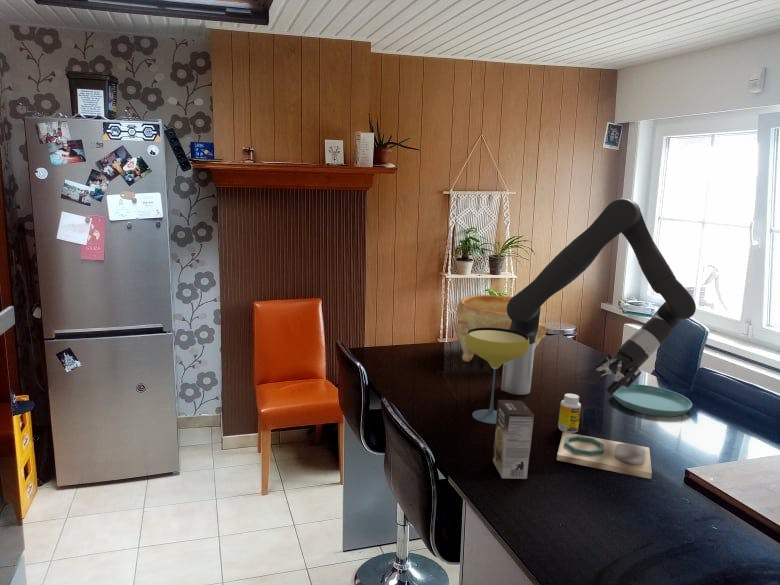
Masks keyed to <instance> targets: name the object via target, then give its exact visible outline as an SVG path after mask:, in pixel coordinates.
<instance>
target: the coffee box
mask: <svg viewBox="0 0 780 585" xmlns="http://www.w3.org/2000/svg"><path fill="white" fill-rule="evenodd" d="M496 411H497V418H496V424H495V430H494V431H495V432H494V440H493V442H494V443H493V455H492V456H493V457H492V462H493V465H494V466H495V468H496V470H497V472H498V474H499V475H500V477H501V479H514V480H515V479H518V480H519V479H521V480H526V479H528V471H529V463H530V453H531V448H532V447H531V445H532V435H533V429H534V428H533V426H534V418H535V417H534V416H535V414H534V413H533V412H532V411H531V410H530V408H529V407H528V406H527V405H526V403H525V402H524V400H513V399H498V400H497V409H496Z"/></svg>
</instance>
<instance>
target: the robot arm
mask: <svg viewBox="0 0 780 585" xmlns="http://www.w3.org/2000/svg"><path fill="white" fill-rule="evenodd" d="M620 234H622V235H623V237H624V238H625V239H626V240H627V242H628V243H629V245H630V248H632V250H633V253H634V255H635V257H636V260H637V263H638V266H639V267H640V269H641V270H640V271H642V273H643V275H644V277H645V278H646V281H647V282H648V284H649V286H650V287H651V289H652V291H653V292H655V293H656V294H659V295H661V297H662V298H663V299H664V303H662V304H661V306H660V307H659V308H658V309H657V310H656V311H655V313H654V314H653V315H652V317H651V318H650V319H648V320H647V322H645V323H644V324H643V325H642V326H641V327H640V328H639V329H638V330H636V331H635V332H634V333H633V334H632V335H631V336H630V337H629V338H627V340H626V341H625V342H624V343H623V344H622V345H621V346H620V347H618V349H617V354H616V355H615V356H613V355H611V353H606V354H605V355H604V356H603V357H602V358H601V359H600V360H598V362H597V363H596V364H594V366H593V367H594V368H595V372H594V373H593V374H592V375H591V376H590V377H589V378H588V382H589V383H590V384H591V385H592V386H594V385H596V384H597V383H598V381H600V379H602V378H603V376H606V375H612V374H613V375H616V377H615V380H613V381H612V382H611V383H610V384H609V385H608V386H607V387H606V388H605V392H606V393H607V394H608V395H609V396H612V395H613V393H615V391H616V390H618V389H619V388H620V387H623V386H626V387H629V386H630V385H631V384H634V382H635V381H636V379H638V377H640V376H641V375H642V371H641V369H639V368H640V367H641V366H642V365H643V364H645V362H646V361H647V360H648V359H649V358H651V356H652V355H654V353H655V352H657V350H658V348H659V347H660V346H661V345H662V344H663V343H664V342H665V341H666V340H667V339H668V338H669V337H670V336H671V334H672V332H673V329H674V328H675V327H676V326H677V325H678V324H679V323H681V322H682V321H684V320H687V319H690V318H692V317H693V316H694V314H695V313H696V310H697V305H696V302H695V300H694V298H693V295H692V294H691V293H690V292H689V291H688V290H687V288H685V287H684V285H683V284H682V283H681V282H680V281H679V280H678V279H677V277H676V276H675V274H674V272H673V270H672V269H671V267H670V265H669V264H668V262H667V261H666V259H665V257H664V256H663V254H662V251H660V250H659V248H658V246H657V244H656V243H655V241H654V240H653V237H652V235H651V233H650V232H649V230H648V227H647V224H646V221H645V220H644V216H643V214H642V211H641V208H640V206H639V204H638V203H637V202H636V201H634V200H633V199H628V198H617V199H614V200H612V201H611V202H610V203H608V205H607V206H606V207H605V208H604V210H602V211H601V213H600V214H599V215H598V216H597V217H596V219H595V220H594V221H593V222H592V223H591V224H590V225H589V227H588V228H586V229H585V230H584V231H582V233H580V234H579V235H578V236H577V237H576V238H575V239H573V240H572V241H571V242H570V243H569V244H567V245H566V246H565V247H564V248H563V249H561V251H559V252H558V254H556V256H554V258H553V259H552V260H550V262H549V263H548V264H547V265H546V266H545V267H544V268H543V269H542V270H541V272H540V273H539V274H538V275H537V276H536V277H535V278H534V280H533V281H531V282H530V283H529V284H528V285H527V286H526V287H524V288H523V289H521V290H520V291H519V292H517V293H516V294H515V295H513V296H512V298H511V299H510V300H509V302H508V305H507V314H508V316H509V318H510V319H511V320H512V322H511V326H510V328H509V330H513V331H517V332H521V333H523V334H525V335H527V336H528V337H529V349H528V351H527V352H526V353H525V354H524V355H522V356H521V357H519V358H516V359H513V360H510V361H507V362H505V363H503V364H502V376H501V387H500V391H501V392H502V391H503V392H506V393H508V394H512V395H516V396H517V395H518V396H524V395H528V394H530V393H531V389H532V386H531V385H532V379H533V378H532V376H533V366H534V358H535V349H536V348H535V339H536V335H537V332H538V326H539V323H540V322H539V319H540V320H541V307H542V306H543V305H544V304H545V302H547V300H549V299H550V298H551V297H553V296H554V295H555V294H557V293H558V292H560V291H561V290H562V289H564V288H565V287H567V286H569V285H570V284H571V283H572V282H573V281H575V280H576V279H577V278H578V277H579V276H580V275H582V273H584V272H585V271H586V270H587V269H588V268H589V267H590V266H591V264H592V263H593V262H594V261H595V260H596V258H597V257H598V256H599V254H600V253H601V251H602V250H603V249H604V247H605V246H607V244H609V243H610V242H611V241H613V240H614V239H615V238H616V237H617V236H619V235H620ZM534 348H535V349H534Z"/></svg>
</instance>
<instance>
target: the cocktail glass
mask: <svg viewBox="0 0 780 585" xmlns="http://www.w3.org/2000/svg"><path fill="white" fill-rule="evenodd" d="M466 345H467V347H468V348H469V349H470V350H471V351H472V352H473V353H475V354H474V355H476V356H478V357H480V358H481V359H483V360H485V361H487V363H488V364H489V366H490V368H492V369H493V373H492V385H491V386H492V387H491V395H490V403H489V409H488V408H487V409H486V408H484V409H478V410H474V411H473V412H472V418H474V420H475V421H478V422H481V423H484V424H488V425H489V424H490V425H496V418H497V409H496V410H495V409H494V395H495V384H496V375H497V374H496V372H497V370H498V369H499V368H501V366H503V364H504V363H505V362H507V361H510V360H513V359H516V358H519V357H521V356H522V355H524V354H525V353H526V352H527V351H528V349H529V337H528V336H527V335H525V334H523V333H521V332H517V331H513V330H509V329H502V328H474V329H471V330H469V331H468V332H467V334H466Z"/></svg>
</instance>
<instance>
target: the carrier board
mask: <svg viewBox="0 0 780 585" xmlns="http://www.w3.org/2000/svg"><path fill="white" fill-rule="evenodd" d="M561 434H562V435H561V439H560V441H559V442H560V443H559V446H558V451H557V453H556V454H557V455H556V461H560V462H564V463H569V464H574V465H579V466H585V467H590V468H594V469H600V470H603V471H604V470H605V471H610V472H614V473H618V474H623V475H624V474H625V475H628V476H629V475H630V476H634V477H638V478H644V479H649V480H652V476H653V475H652V474H653V471H652V463H651V462H652V461H651V453H650V447H647V446H643V445H637V444H632V443H625V442H622V441H616V440H610V439H604V438H598V437H594V436H588V435H582V434H578V433H567V432H563V431H562V433H561Z"/></svg>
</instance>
